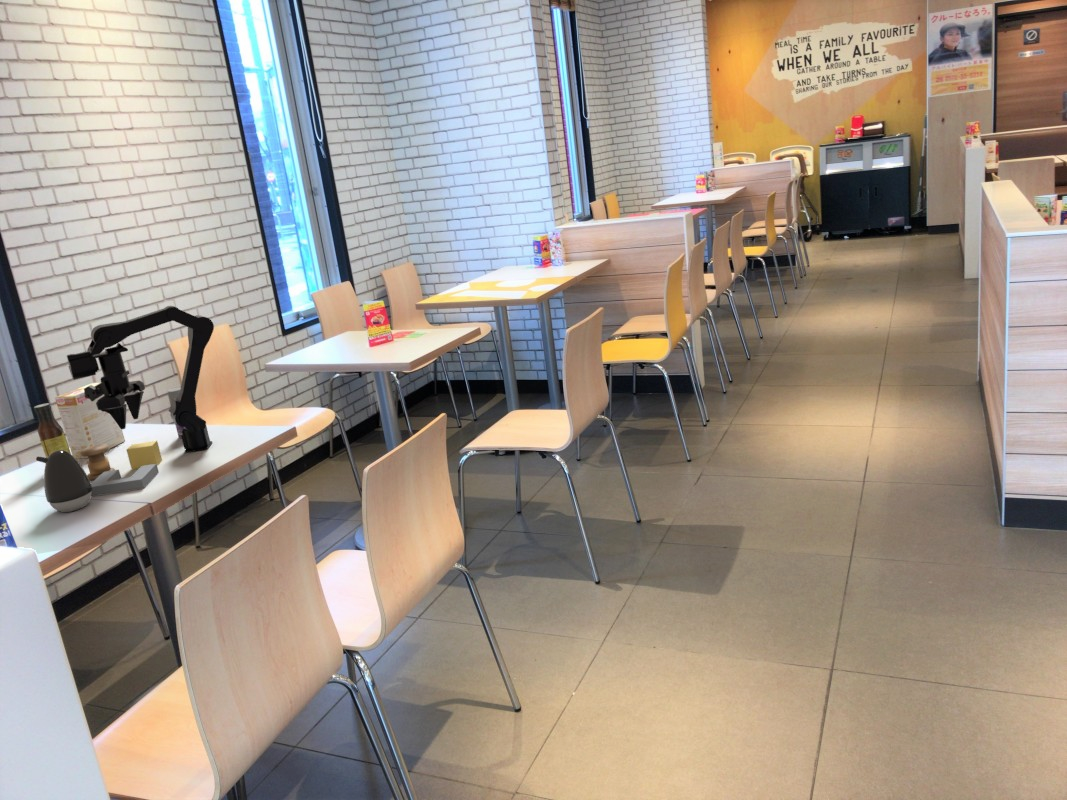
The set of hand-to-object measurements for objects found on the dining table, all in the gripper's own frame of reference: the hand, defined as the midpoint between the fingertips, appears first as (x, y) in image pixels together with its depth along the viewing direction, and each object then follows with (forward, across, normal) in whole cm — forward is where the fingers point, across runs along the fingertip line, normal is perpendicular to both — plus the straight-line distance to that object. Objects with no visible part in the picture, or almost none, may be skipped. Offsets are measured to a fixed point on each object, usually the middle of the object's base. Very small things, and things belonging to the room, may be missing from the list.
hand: (129, 423), depth 235 cm
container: (+13, -24, +5) cm, 27 cm away
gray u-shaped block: (+12, +17, +2) cm, 20 cm away
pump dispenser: (+12, +30, -6) cm, 33 cm away
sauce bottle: (+12, -4, -24) cm, 27 cm away
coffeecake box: (+12, -22, -21) cm, 32 cm away
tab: (+12, +2, +2) cm, 12 cm away
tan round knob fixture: (+12, +6, -9) cm, 16 cm away
